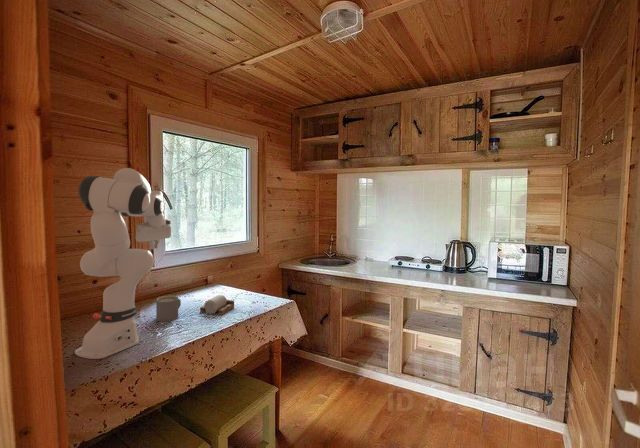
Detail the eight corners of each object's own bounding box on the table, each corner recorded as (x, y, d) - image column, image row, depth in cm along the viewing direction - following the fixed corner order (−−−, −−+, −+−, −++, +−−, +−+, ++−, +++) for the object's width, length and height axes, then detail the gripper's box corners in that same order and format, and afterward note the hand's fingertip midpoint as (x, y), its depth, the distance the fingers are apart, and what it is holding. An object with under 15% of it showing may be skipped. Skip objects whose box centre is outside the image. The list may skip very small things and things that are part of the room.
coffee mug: (164, 323, 152) (164, 303, 151) (152, 318, 157) (152, 299, 156) (188, 315, 163) (188, 296, 163) (175, 311, 168) (176, 292, 167)
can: (214, 316, 165) (226, 308, 176) (216, 302, 164) (229, 296, 175) (202, 312, 166) (215, 305, 178) (204, 298, 165) (217, 292, 177)
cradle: (221, 315, 165) (221, 307, 165) (200, 312, 168) (200, 304, 168) (234, 307, 177) (234, 300, 177) (213, 304, 180) (213, 297, 180)
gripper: (142, 223, 149) (143, 252, 150) (173, 221, 169) (173, 246, 170) (132, 222, 151) (132, 251, 152) (163, 220, 170) (163, 245, 172)
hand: (154, 248), depth 161 cm, fingers closed
